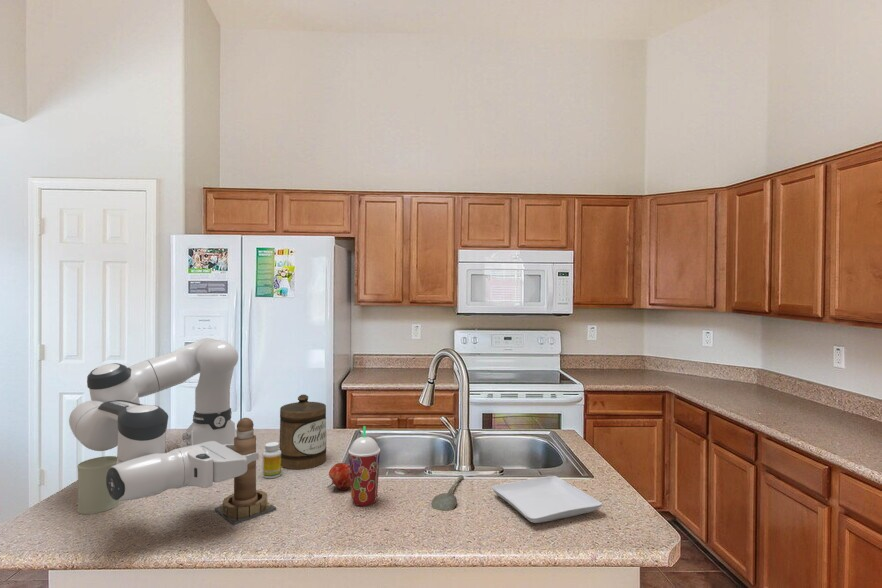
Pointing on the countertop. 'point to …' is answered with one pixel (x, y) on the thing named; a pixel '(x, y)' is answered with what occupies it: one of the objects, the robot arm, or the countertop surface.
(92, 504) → the can
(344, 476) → the pomegranate
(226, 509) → the collar socket
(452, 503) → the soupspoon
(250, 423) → the pepper mill
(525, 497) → the salad plate
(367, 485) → the smoothie
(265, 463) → the supplement bottle
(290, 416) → the wooden container
